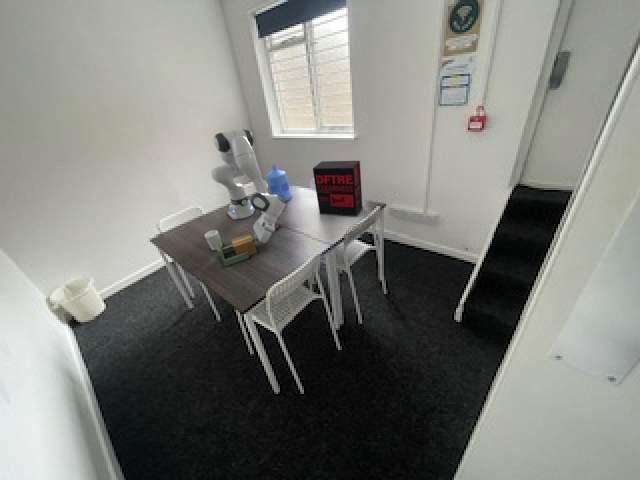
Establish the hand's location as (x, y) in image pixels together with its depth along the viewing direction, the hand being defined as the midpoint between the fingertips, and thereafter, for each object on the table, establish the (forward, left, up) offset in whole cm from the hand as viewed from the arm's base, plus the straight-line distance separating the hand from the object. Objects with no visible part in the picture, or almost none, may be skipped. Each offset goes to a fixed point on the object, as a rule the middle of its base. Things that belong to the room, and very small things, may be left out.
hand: (254, 242), depth 151 cm
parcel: (-2, -6, -5) cm, 8 cm away
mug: (-11, +23, -5) cm, 26 cm away
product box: (+13, +63, -5) cm, 64 cm away
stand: (-5, -11, -5) cm, 13 cm away
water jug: (-44, +56, -5) cm, 71 cm away
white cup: (-24, -13, -5) cm, 28 cm away
